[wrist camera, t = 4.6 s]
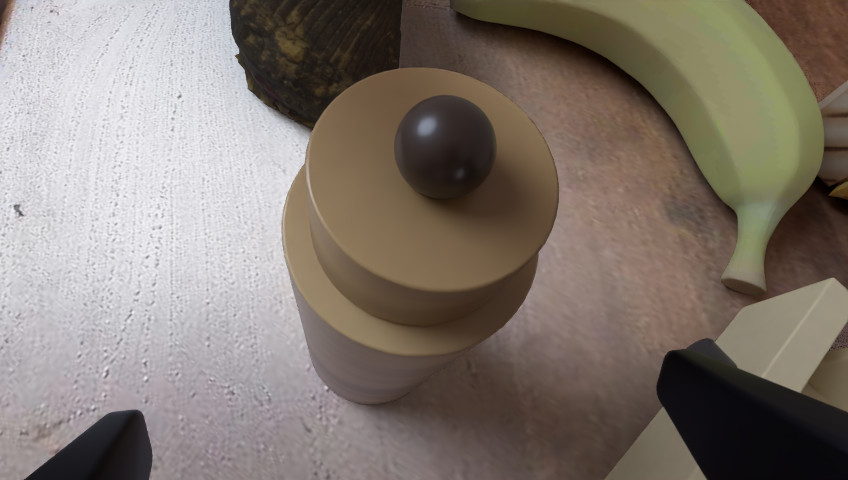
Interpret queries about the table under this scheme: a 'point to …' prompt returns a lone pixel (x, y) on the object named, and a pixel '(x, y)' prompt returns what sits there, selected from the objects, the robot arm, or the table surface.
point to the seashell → (313, 49)
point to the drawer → (758, 369)
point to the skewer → (835, 141)
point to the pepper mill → (414, 227)
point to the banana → (704, 97)
